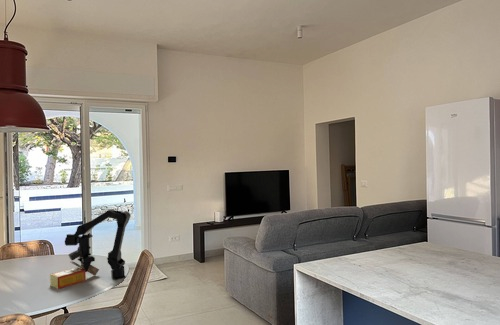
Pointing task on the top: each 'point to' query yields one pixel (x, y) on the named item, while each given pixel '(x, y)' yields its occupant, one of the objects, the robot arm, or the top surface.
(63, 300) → the top surface
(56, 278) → the baking soda box
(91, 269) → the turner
